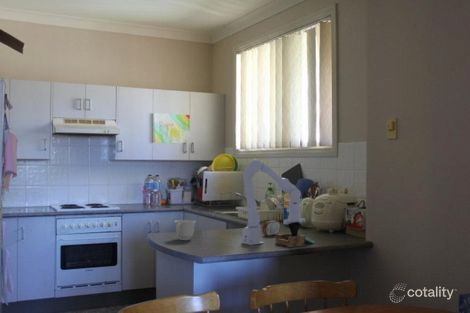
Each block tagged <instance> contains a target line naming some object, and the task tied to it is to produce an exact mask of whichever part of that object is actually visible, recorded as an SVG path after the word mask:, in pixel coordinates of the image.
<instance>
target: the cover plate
mask: <svg viewBox="0 0 470 313" xmlns="http://www.w3.org/2000/svg"><path fill="white" fill-rule="evenodd" d="M289 233H290V236H292V234H291V232H289ZM302 235H303V234H300V233H299V234H298V233H297V236H302ZM304 243H309V244H315V240H313V239H312V238H311V239H310V238H308V237H307V236H305V239H304Z"/></svg>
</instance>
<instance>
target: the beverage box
mask: <svg viewBox="0 0 470 313" xmlns="http://www.w3.org/2000/svg"><path fill="white" fill-rule="evenodd" d="M300 193H301V196H300V204H301V201H302V202H303V192H302V191H300ZM289 202H290V196H289V194H286V193H285V192H284V191H283V220H287V219H289ZM297 222H298V221H297ZM283 226H288V224H283Z"/></svg>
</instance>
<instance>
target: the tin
mask: <svg viewBox="0 0 470 313" xmlns="http://www.w3.org/2000/svg"><path fill="white" fill-rule="evenodd" d="M261 228H262V230H261V231H262V234H263V235H264V236H268V237H270V236H275V235H278V234H279V232H280V230H281V224H280V221H278V220H275V219H274V220H266V221H265V222H264V223H263V224H262V227H261Z"/></svg>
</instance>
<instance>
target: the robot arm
mask: <svg viewBox="0 0 470 313" xmlns="http://www.w3.org/2000/svg"><path fill="white" fill-rule="evenodd" d="M258 172H261V173H263V174H264V173H265V174H267V175H268V176H270V177H271V179H273V180H274V181H275V182H277V187H278V188H280V189H281V191H283V193H284V192H285V193H286V194H289V196H290V202H289V219H287V220H284V219H283V220H282V221H283V223H282V224H283V225H284V224H288V225H287V226H288V228H289V231H290V233H291V234H292V237H293V236H297V234H298V232H299V229H300V228H301V226H302V225H301V223H300V222H302V223H306V218H303V217H302V218H300V196H301V193H300V192H301V191H300V189H298V188H297V187H296V185H295V184H293V183H291V182H290V179H288V178H286V177H281V176H280V175H279V174H277V173H276V172H275V171H274V170H273V169H272V168H271V167H270V166H269V165H268V164H265V163H264V162H261V160H259V159H255V158H254V159H253V160H251V161H250V162H249V163H248V165H247V167H246V169H245V170H244V172H243V175H242V177H243V184H244V192H245V197H246V204H247V211H248V212H247V214H248V216H247V224H246V227H243V228H242V231H241V242H240V243H241V244H245V245H248V246H253V245H260V244H264V241H261V231H262V230H261V228H262V227H261V224H260V223H261V217H260V215H259V214H258V211H257V210H258V209H257V204H256V203H257V202H256V198H255V197H256V196H255V190H254V184H253V177H254V176H255V174H256V173H258ZM297 221H298V222H297Z"/></svg>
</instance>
